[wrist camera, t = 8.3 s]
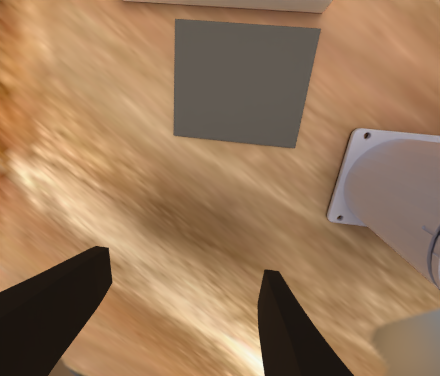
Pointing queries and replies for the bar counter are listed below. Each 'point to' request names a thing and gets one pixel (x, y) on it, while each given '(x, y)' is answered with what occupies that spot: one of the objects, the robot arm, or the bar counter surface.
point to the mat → (241, 81)
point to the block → (255, 4)
